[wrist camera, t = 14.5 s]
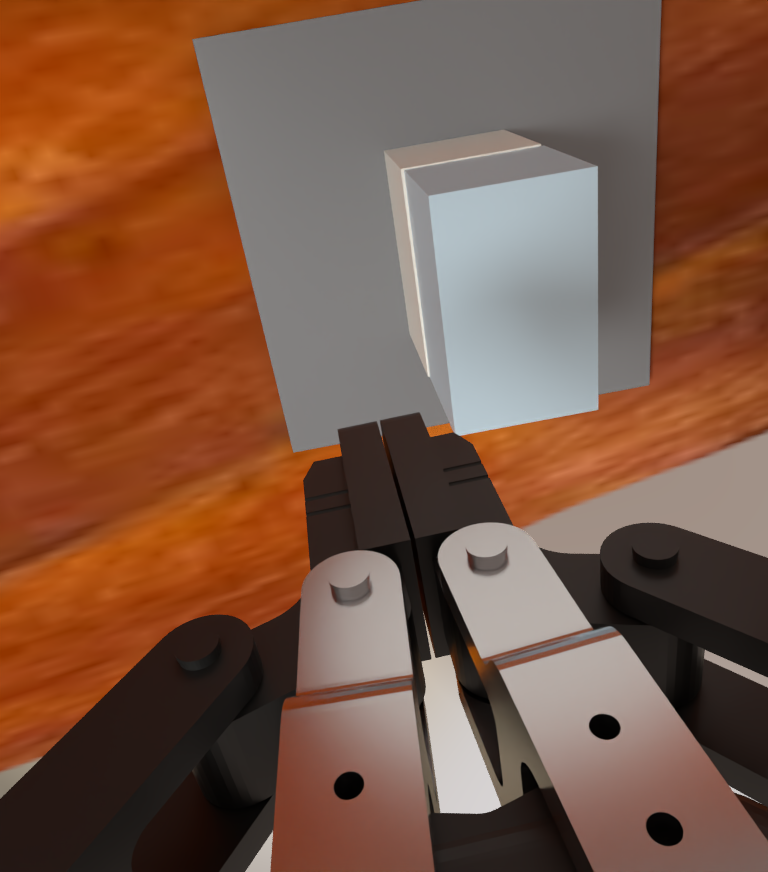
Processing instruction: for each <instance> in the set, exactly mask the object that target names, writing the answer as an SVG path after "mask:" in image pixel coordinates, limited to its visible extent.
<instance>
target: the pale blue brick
mask: <svg viewBox="0 0 768 872" xmlns="http://www.w3.org/2000/svg"><path fill="white" fill-rule="evenodd" d="M404 175H405V183H406V191H407V199H408V206H409V214H410V222H411V230H412V238H413V246H414V254H415V262H416V270H417V278H418V286H419V294H420V302H421V309H422V317H423V325H424V333H425V341H426V349H427V357H428V365H429V373H430V379H431V381H432V383H433V386H434V388H435V390H436V392H437V395H438V397H439V399H440V402H441V404H442V406H443V409H444V411H445V413H446V416H447V418H448V420H449V423H450V425H451V427H452V430H453V432H454V433H456V434H457V435H459V436H460V435H465V434H471V433H476V432H481V431H487V430H492V429H497V428H503V427H508V426H513V425H519V424H524V423H530V422H535V421H540V420H546V419H551V418H556V417H562V416H567V415H572V414H578V413H583V412H588V411H594V410H598V166H596V165H593V164H591V163H588V162H586V161H583V160H580V159H578V158H575V157H573V156H570V155H568V154H565V153H562V152H560V151H557V150H555V149H552V148H549V147H547V146H538V147H533V148H527V149H521V150H515V151H510V152H504V153H498V154H492V155H487V156H481V157H475V158H469V159H464V160H458V161H452V162H446V163H441V164H435V165H429V166H423V167H418V168H412V169H406V170H404Z"/></svg>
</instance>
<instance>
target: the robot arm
mask: <svg viewBox="0 0 768 872" xmlns="http://www.w3.org/2000/svg"><path fill="white" fill-rule="evenodd" d="M380 425H381V431H382V437H383V441H382V437H381V434H380V430H379V427H378V423H377V421H374V422H369V423H365V424H360V425H355V426H350V427H345V428H340V429H337V430H338V436H339V441H340V447H341V453H342V456H340V457H335V458H330V459H326V460H321V461H316V462H314V463H313V464H312V466H311V468H310V470H309V471H308V473H307V475H306V477H305V478H304V480H303V482H304V494H305V507H306V515H307V517H306V519H307V532H308V544H309V557H310V569H311V571H310V573H309V574H308V575H307V577H306V578H305V580H304V582H303V585H302V590H301V598H300V600H299V601H298V602H297V603H296V604H295V605H294V606H292V607H291V608H290V609H289V610H287V611H286V612H285V613H283V614H282V615H280V616H278V617H276V618H274V619H273V620H270V621H268V622H266V623H264V624H262V625H260V626H258V627H256V628H254V629H252V630H250V628H249V627H248V625H247V624H246V623H244V622H243V621H242V620H240V619H238V618H236V617H233V616H229V615H209V616H203V617H200V618H196V619H193V620H191V621H189V622H186V623H184V624H182V625H180V626H179V627H177V628H175V629H174V630H173V631H171V632H170V633H168V634H167V635H166V636H165V637H164V638H163V639H162V640H161V641H160V642H159V643H158V644H157V645H156V646H155V647H154V648H153V649H152V650H151V651H150V652H149V653H148V654H147V655H146V656H145V657H143V658H142V659H141V660H140V661H139V662H138V663H137V664H136V665H135V666H134V667H133V668H132V669H131V670H130V671H129V672H128V673H127V674H126V675H125V676H124V677H123V678H122V679H121V680H120V681H119V682H118V683H117V684H116V685H115V686H114V687H113V688H112V689H111V690H110V691H109V692H108V693H107V694H106V695H105V696H104V697H103V698H102V699H101V700H100V701H99V702H98V703H97V704H96V705H95V706H94V707H93V708H92V709H91V710H90V711H89V712H88V713H87V714H86V715H85V716H84V717H83V718H82V719H81V720H80V721H79V722H78V723H77V724H76V725H75V726H74V727H73V728H72V729H71V730H70V731H69V732H68V733H67V734H66V735H65V736H64V737H63V738H62V739H61V740H59V741H58V742H57V743H56V744H55V745H54V746H53V747H52V748H51V749H50V750H49V751H48V752H47V753H46V754H45V755H44V756H43V757H42V758H41V759H40V760H39V761H38V762H37V763H36V764H35V765H34V766H33V767H32V768H31V769H30V770H29V771H28V772H27V773H26V774H25V775H24V776H23V777H22V778H21V779H20V780H19V781H18V782H17V783H16V784H15V785H14V786H13V787H12V788H11V789H10V790H9V791H8V792H7V793H6V794H5V795H4V796H3V797H2V798H1V799H0V872H245V871H246V869H247V868H248V866H249V865H250V864H251V862H252V861H253V859H254V858H255V856H256V855H257V853H258V852H259V850H260V849H261V847H262V846H263V844H264V843H265V841H266V840H267V838H268V837H269V835H270V834H271V833H272V831H273V842H272V857H271V858H272V859H271V872H768V688H767V687H765V686H763V685H761V684H758V683H756V682H754V681H752V680H750V679H747V678H745V677H743V676H741V675H739V674H736V673H734V672H732V671H730V670H728V669H725V668H723V667H721V666H719V665H717V664H714V663H712V662H710V661H707V660H705V659H704V651H705V650H707V651H709V652H712V653H714V654H716V655H719V656H721V657H723V658H725V659H727V660H730V661H732V662H734V663H737V664H739V665H741V666H743V667H746V668H748V669H750V670H752V671H755V672H757V673H759V674H761V675H764V676H766V677H768V558H766V557H763V556H760V555H757V554H754V553H752V552H749V551H746V550H743V549H740V548H737V547H734V546H731V545H728V544H725V543H722V542H719V541H717V540H714V539H710V538H708V537H705V536H702V535H699V534H696V533H693V532H690V531H687V530H684V529H681V528H678V527H675V526H671V525H666V524H660V523H640V524H633V525H629V526H625V527H623V528H620V529H618V530H616V531H615V532H613V533H611V534H610V535H609V536H608V537H607V538H606V539H605V540H604V542H603V544H602V546H601V549H600V554H567V553H557V552H552V551H548V550H545V549H542V548H539V547H538V546H537V544H536V543H535V541H534V540H533V539H532V538H531V536H530V535H529V534H527V533H526V532H525V531H523V530H521V529H519V528H517V527H515V526H513V524H512V522H511V520H510V518H509V516H508V514H507V512H506V510H505V508H504V506H503V504H502V502H501V500H500V498H499V496H498V494H497V492H496V490H495V488H494V486H493V484H492V482H491V480H490V478H488V474H487V472H486V470H485V468H484V466H483V464H481V460H480V458H479V456H478V454H477V452H476V450H475V448H474V446H473V444H471V443H470V442H468V441H467V440H465V439H463V438H462V437H460V436H459V435H457V434H456V433H449V434H444V435H439V436H435V437H430V436H429V434H428V431H427V429H426V426H425V424H424V421H423V419H422V416H421V414H420V412H417V413H412V414H407V415H402V416H398V417H393V418H388V419H383V420H380ZM383 442H384V444H383ZM423 613H424V614H423ZM424 616H425V620H426V623H427V627H428V631H429V635H430V638H431V642H432V646H433V650H434V653H435V657H436V658H437V657H442V656H446V655H451V658H452V662H453V665H454V669H455V673H456V679H457V686H458V691H459V697H460V700H461V703H462V706H463V708H464V711H465V713H466V716H467V719H468V721H469V724H470V726H471V729H472V731H473V734H474V737H475V739H476V741H477V744H478V747H479V749H480V752H481V754H482V757H483V760H484V762H485V765H486V767H487V770H488V773H489V775H490V778H491V780H492V782H493V785H494V788H495V790H496V793H497V796H498V798H499V801H500V804H501V806H502V807H500V808H498V809H496V810H493V811H491V812H488V813H483V814H459V813H458V814H457V813H456V814H455V813H440V808H439V800H438V793H437V786H436V778H435V772H434V764H433V758H432V750H431V743H430V736H429V729H428V722H427V716H426V715H427V714H426V708H425V703H424V695H425V688H426V686H425V678H424V673H423V668H422V662H421V661H425V660H430V659H431V654H430V648H429V642H428V637H427V631H426V626H425V620H424ZM729 786H731V787H732V788H734V789H736V790H738V791H740V792H741V793H743V794H745V795H747V796H749V797H751V798H752V799H754V800H756V801H758V802H760V803H761V804H760V803H758V802H756V801H754V800H751V799H749V798H747V797H745V796H742V795H739V794H737V793H734V792H733V791H732V790H731V788H730V787H729Z"/></svg>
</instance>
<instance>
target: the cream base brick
mask: <svg viewBox="0 0 768 872" xmlns="http://www.w3.org/2000/svg"><path fill="white" fill-rule="evenodd" d="M538 146H541V144H540V143H537V142H535V141H532V140H530V139H527V138H524V137H522V136H519V135H517V134H514V133H511V132H509V131H506V130H498V131H493V132H487V133H481V134H476V135H470V136H464V137H459V138H453V139H447V140H442V141H436V142H431V143H425V144H419V145H414V146H408V147H402V148H397V149H391V150H385V151H384V156H385V163H386V170H387V177H388V184H389V191H390V198H391V205H392V212H393V219H394V226H395V234H396V241H397V248H398V255H399V262H400V269H401V276H402V283H403V290H404V297H405V304H406V312H407V319H408V326H409V333H410V336H411V338H412V340H413V343H414V345H415V347H416V350H417V352H418V354H419V357H420V359H421V362H422V364H423V366H424V369H425V371H426V373H427V376H428V377H430V373H429V365H428V357H427V349H426V341H425V333H424V325H423V317H422V309H421V302H420V294H419V286H418V278H417V270H416V262H415V254H414V246H413V238H412V230H411V222H410V214H409V206H408V199H407V191H406V183H405V175H404V170H406V169H412V168H418V167H423V166H429V165H435V164H441V163H446V162H452V161H458V160H464V159H469V158H475V157H481V156H487V155H492V154H498V153H504V152H510V151H515V150H521V149H527V148H533V147H538Z"/></svg>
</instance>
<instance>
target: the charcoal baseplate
mask: <svg viewBox="0 0 768 872" xmlns="http://www.w3.org/2000/svg"><path fill="white" fill-rule="evenodd" d="M660 29H661V0H420V1H414V2H408V3H403V4H397V5H391V6H385V7H379V8H373V9H367V10H362V11H356V12H350V13H344V14H338V15H332V16H326V17H321V18H315V19H309V20H303V21H297V22H291V23H285V24H280V25H274V26H268V27H262V28H256V29H250V30H244V31H239V32H233V33H227V34H221V35H215V36H209V37H203V38H198V39H192V40H193V44H194V48H195V52H196V56H197V60H198V64H199V68H200V72H201V77H202V81H203V85H204V89H205V93H206V97H207V101H208V105H209V109H210V113H211V117H212V122H213V126H214V130H215V134H216V138H217V142H218V146H219V150H220V154H221V158H222V162H223V167H224V171H225V175H226V179H227V183H228V187H229V191H230V195H231V199H232V203H233V207H234V211H235V216H236V220H237V224H238V228H239V232H240V236H241V240H242V244H243V248H244V252H245V256H246V261H247V265H248V269H249V273H250V277H251V281H252V285H253V289H254V293H255V297H256V301H257V306H258V310H259V314H260V318H261V322H262V326H263V330H264V334H265V338H266V342H267V346H268V350H269V355H270V359H271V363H272V367H273V371H274V375H275V379H276V383H277V387H278V391H279V395H280V400H281V404H282V408H283V412H284V416H285V420H286V424H287V428H288V432H289V436H290V440H291V444H292V449H293V452H298V451H304V450H309V449H314V448H319V447H325V446H330V445H335V444H340V441H339V436H338V430H337V429H340V428H345V427H350V426H355V425H360V424H365V423H369V422H374V421H377V423H378V427H379V430H380V434H381V436H382V431H381V425H380V420H383V419H388V418H393V417H398V416H402V415H407V414H412V413H417V412H420V414H421V416H422V419H423V421H424V424H425V426H426V427H430V426H436V425H441V424H446V423H449V420H448V418H447V416H446V413H445V411H444V409H443V406H442V404H441V402H440V399H439V397H438V395H437V392H436V390H435V388H434V386H433V383H432V381H431V379H430V377H428V376H427V373H426V371H425V369H424V366H423V364H422V362H421V359H420V357H419V354H418V352H417V350H416V347H415V345H414V343H413V340H412V338H411V336H410V333H409V326H408V319H407V312H406V304H405V297H404V290H403V283H402V276H401V269H400V262H399V255H398V248H397V241H396V234H395V226H394V219H393V212H392V205H391V198H390V191H389V184H388V177H387V170H386V163H385V156H384V151H385V150H391V149H397V148H402V147H408V146H414V145H419V144H425V143H431V142H436V141H442V140H447V139H453V138H459V137H464V136H470V135H476V134H481V133H487V132H493V131H498V130H506V131H509V132H511V133H514V134H517V135H519V136H522V137H524V138H527V139H530V140H532V141H535V142H537V143H540V144H541V146H547V147H549V148H552V149H555V150H557V151H560V152H562V153H565V154H568V155H570V156H573V157H575V158H578V159H580V160H583V161H586V162H588V163H591V164H593V165H596V166H598V395H599V394H604V393H610V392H615V391H620V390H626V389H631V388H636V387H641V386H647V385H649V378H650V346H651V315H652V283H653V251H654V220H655V188H656V156H657V125H658V93H659V61H660Z"/></svg>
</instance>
